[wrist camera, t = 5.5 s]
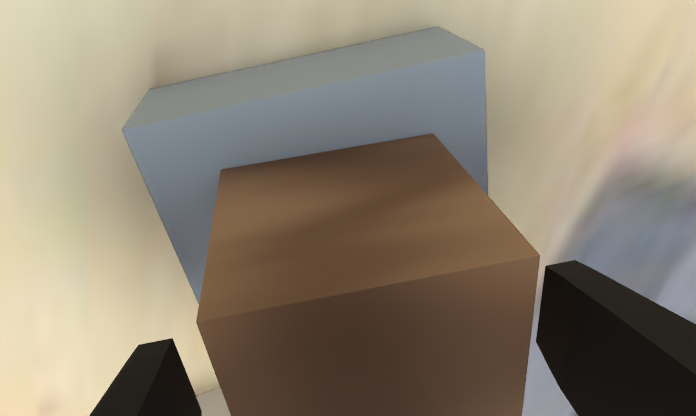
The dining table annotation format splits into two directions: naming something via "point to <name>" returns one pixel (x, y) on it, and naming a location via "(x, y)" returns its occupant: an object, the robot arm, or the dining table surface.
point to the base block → (303, 121)
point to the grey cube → (213, 403)
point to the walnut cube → (366, 287)
